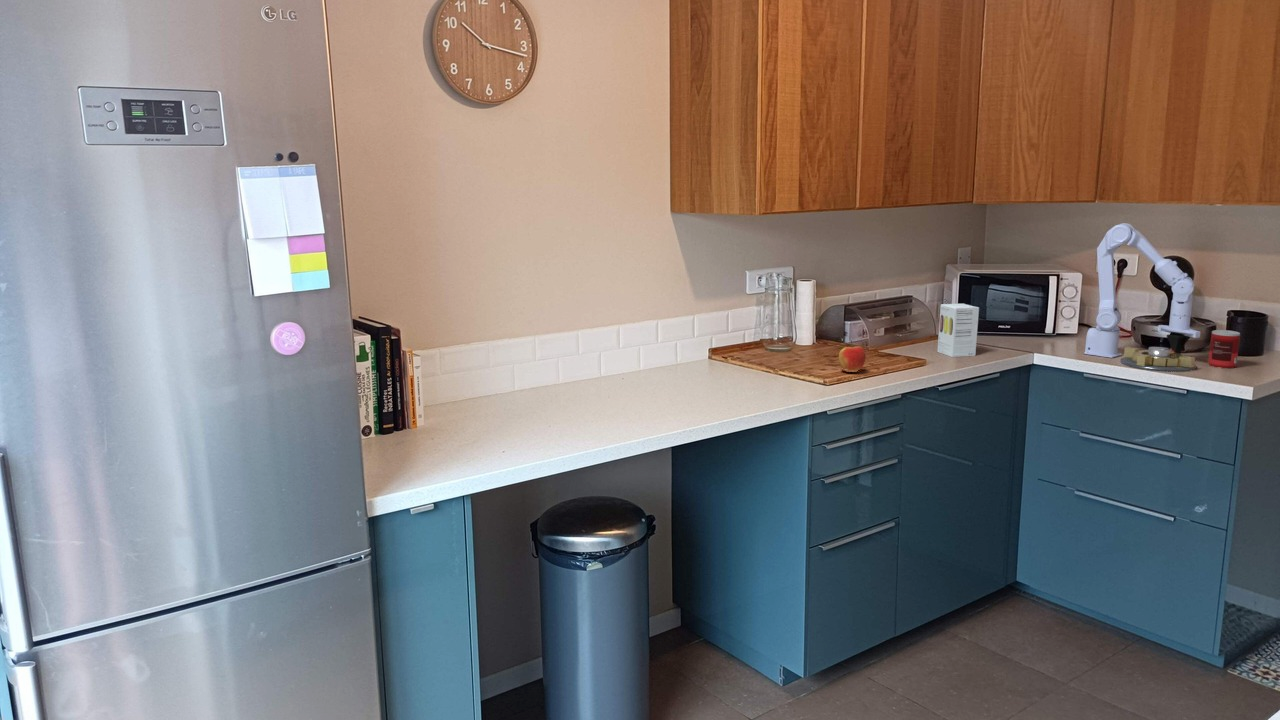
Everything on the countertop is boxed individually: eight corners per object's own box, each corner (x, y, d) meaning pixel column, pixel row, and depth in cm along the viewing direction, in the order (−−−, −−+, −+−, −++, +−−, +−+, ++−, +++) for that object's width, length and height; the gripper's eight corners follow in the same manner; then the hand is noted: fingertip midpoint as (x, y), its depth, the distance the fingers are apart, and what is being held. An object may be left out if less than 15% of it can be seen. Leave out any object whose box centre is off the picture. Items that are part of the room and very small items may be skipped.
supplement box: (936, 352, 315) (939, 304, 311) (959, 350, 317) (963, 302, 314) (952, 357, 306) (955, 307, 302) (976, 356, 308) (979, 306, 305)
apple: (845, 376, 279) (846, 344, 277) (833, 370, 286) (835, 339, 284) (869, 374, 280) (871, 342, 278) (857, 369, 288) (858, 338, 286)
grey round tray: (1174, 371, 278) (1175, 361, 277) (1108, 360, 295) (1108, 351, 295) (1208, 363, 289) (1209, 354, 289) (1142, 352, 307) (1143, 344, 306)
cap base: (1109, 364, 294) (1111, 348, 293) (1139, 355, 308) (1141, 339, 307) (1180, 374, 278) (1182, 357, 277) (1208, 364, 292) (1210, 348, 291)
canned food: (1227, 363, 294) (1232, 330, 292) (1241, 368, 286) (1245, 334, 284) (1202, 363, 295) (1206, 329, 292) (1215, 368, 287) (1219, 334, 285)
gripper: (1209, 317, 288) (1205, 359, 290) (1171, 311, 301) (1167, 351, 304) (1192, 318, 286) (1187, 361, 288) (1154, 312, 299) (1150, 352, 302)
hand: (1176, 356), depth 296 cm, fingers closed, pressing on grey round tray
